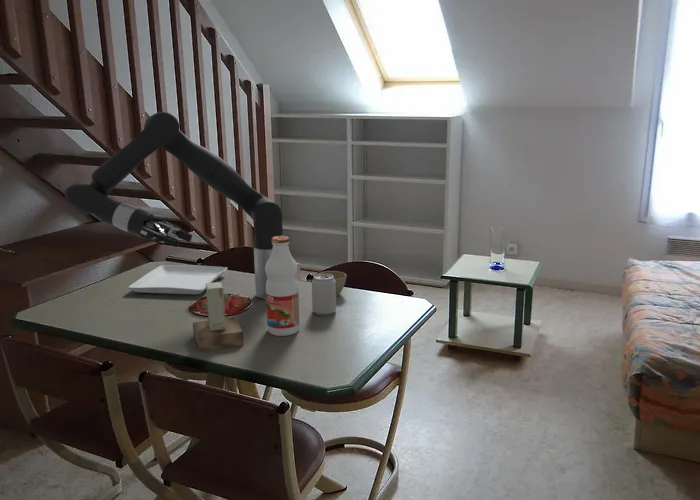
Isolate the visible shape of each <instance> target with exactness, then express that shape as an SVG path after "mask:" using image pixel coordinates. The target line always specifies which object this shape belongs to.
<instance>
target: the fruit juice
mask: <svg viewBox="0 0 700 500" xmlns="http://www.w3.org/2000/svg"><path fill="white" fill-rule="evenodd" d="M272 244H273V248H272V252H271V256H270V258H269V260H268V261H267V263H266V266H265V271H266V275H267V281H266V299H265V301H266V302H265V303H266V327H267V332H268V333H269V334H271V335H273V336H277V337H287V336H292V335H295V334H297V333H298V332H299V331H300V327H301V326H300V298H299V297H300V295H299V294H300V293H299V282H298V279H297V273H298V263H297V262H296V260H295V258H293V256H292V254H291V251H290V247H289V244H290V237H289V236H285V235H282V236H275V237H272Z"/></svg>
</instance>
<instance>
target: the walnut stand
mask: <svg viewBox="0 0 700 500" xmlns="http://www.w3.org/2000/svg"><path fill="white" fill-rule="evenodd" d="M225 321H226V329H222V330H214V331H211V330H210V327H209V321H208V320H204V321H203V320H202V321H196V322H192V330H193V337H194V340H195V343H196V346H197V348H198V351H199V352H206V351H212V350H214V351H215V350H219V349H225V348H226V349H227V348H233V347H239V346H244V345H245V343H244V342H245V341H244V331H243V329H242V327H241V325H240V324H239V321H238V320H237V318H236V317H235V316H232V317H231V316H230V317H225Z"/></svg>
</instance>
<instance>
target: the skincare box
mask: <svg viewBox="0 0 700 500" xmlns="http://www.w3.org/2000/svg"><path fill="white" fill-rule="evenodd" d="M205 291H206V293H205V294H206V305H207V319H208V320H207V321H209V327H210V330H211V331H214V330H222V329H226V321H225V318H226V310H225V307H226V306H225V297H224V296H225V294H224V292H225V291H224V285H223V283H222V281H216V282H214V281H213V282H212V283H206V289H205Z"/></svg>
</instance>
